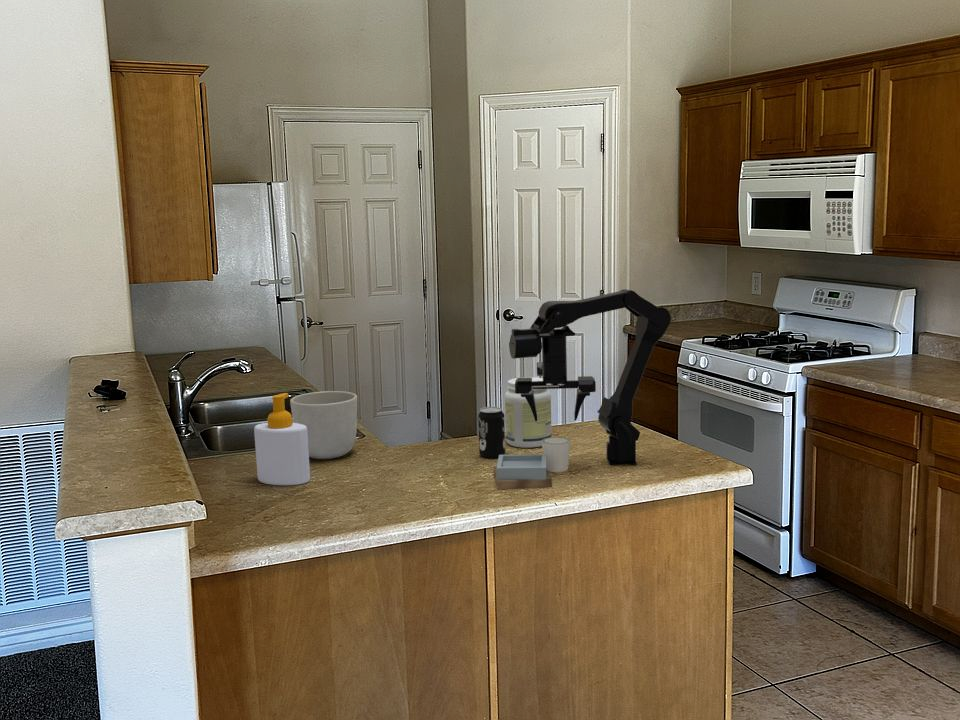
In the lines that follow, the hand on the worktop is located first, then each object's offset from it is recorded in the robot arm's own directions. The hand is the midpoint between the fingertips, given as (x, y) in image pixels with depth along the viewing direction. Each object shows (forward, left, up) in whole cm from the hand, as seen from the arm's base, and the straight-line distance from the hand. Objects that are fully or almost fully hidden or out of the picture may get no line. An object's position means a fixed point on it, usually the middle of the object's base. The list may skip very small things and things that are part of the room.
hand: (555, 420), depth 211 cm
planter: (+59, -14, -12) cm, 62 cm away
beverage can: (+16, -12, -12) cm, 23 cm away
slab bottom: (+8, +9, -12) cm, 17 cm away
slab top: (+8, +9, -10) cm, 16 cm away
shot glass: (0, 0, -12) cm, 12 cm away
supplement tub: (+7, -24, -12) cm, 28 cm away
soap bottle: (+64, +8, -12) cm, 66 cm away
